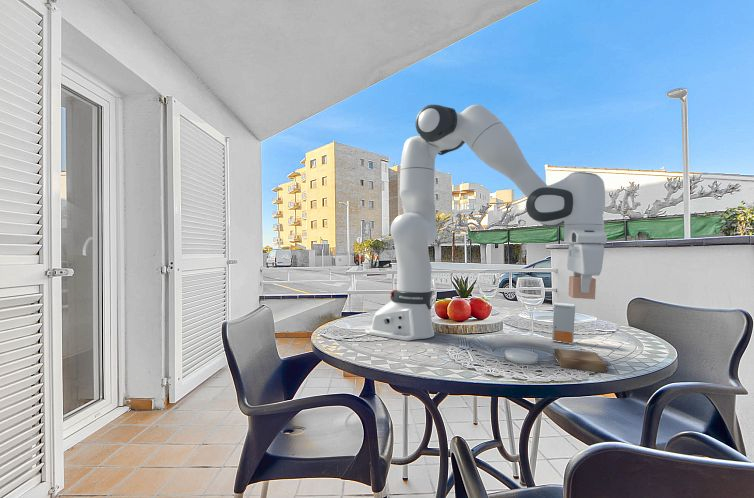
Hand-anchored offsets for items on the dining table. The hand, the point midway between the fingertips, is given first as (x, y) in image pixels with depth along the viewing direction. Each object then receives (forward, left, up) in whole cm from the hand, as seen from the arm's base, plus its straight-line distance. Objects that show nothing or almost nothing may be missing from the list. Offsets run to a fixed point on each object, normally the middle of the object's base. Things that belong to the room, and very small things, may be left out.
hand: (581, 290), depth 95 cm
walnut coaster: (0, 0, -19) cm, 19 cm away
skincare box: (0, +22, -19) cm, 29 cm away
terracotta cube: (0, 0, -2) cm, 2 cm away
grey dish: (-14, -2, -19) cm, 23 cm away
